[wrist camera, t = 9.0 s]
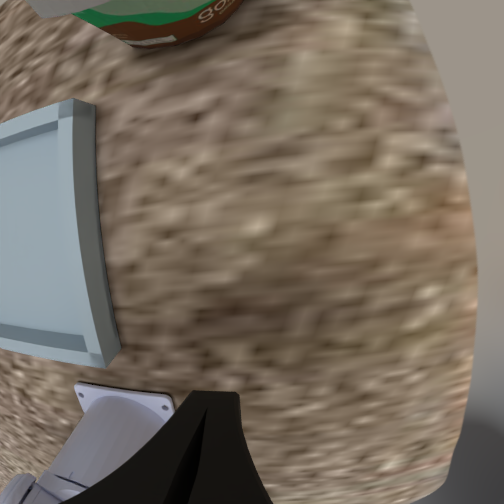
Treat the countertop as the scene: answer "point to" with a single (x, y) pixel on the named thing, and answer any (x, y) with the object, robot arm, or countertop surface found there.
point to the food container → (145, 18)
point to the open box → (53, 239)
